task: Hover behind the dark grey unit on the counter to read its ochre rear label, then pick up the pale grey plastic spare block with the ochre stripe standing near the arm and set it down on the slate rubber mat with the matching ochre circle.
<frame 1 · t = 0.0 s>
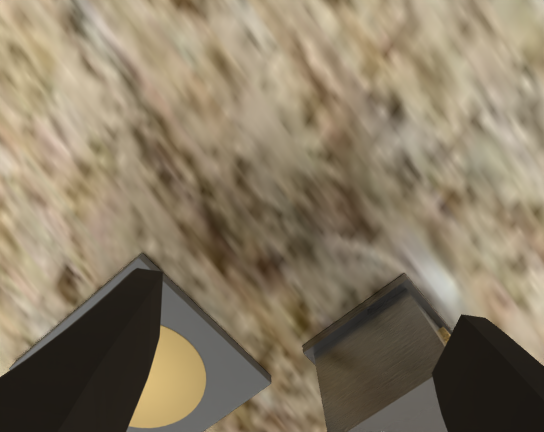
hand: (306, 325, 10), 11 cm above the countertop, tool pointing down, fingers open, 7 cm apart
unit: (408, 373, 23), on the countertop
mat: (144, 368, 23), on the countertop
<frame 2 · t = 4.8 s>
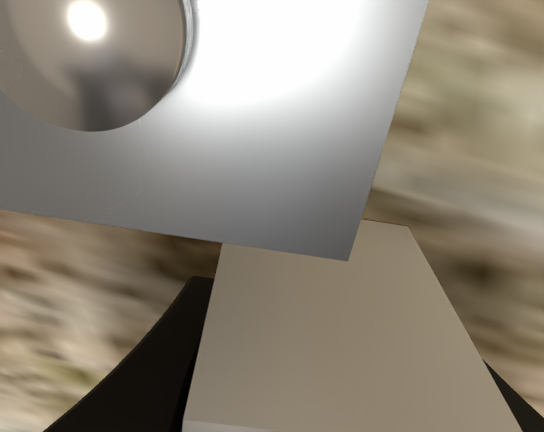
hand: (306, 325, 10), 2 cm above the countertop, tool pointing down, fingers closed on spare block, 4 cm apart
spare block: (303, 283, 11), on the countertop, touching gripper
when the fingers open (3 cm above the countertop, at t = 9.2 s): spare block stays where it is, resting on mat.
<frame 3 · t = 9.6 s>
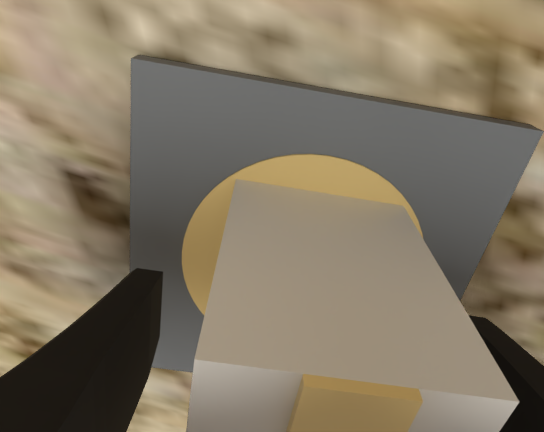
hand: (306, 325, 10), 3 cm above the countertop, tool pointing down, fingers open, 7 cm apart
spare block: (303, 262, 12), point 1 cm above the countertop, touching mat
mat: (300, 255, 13), on the countertop
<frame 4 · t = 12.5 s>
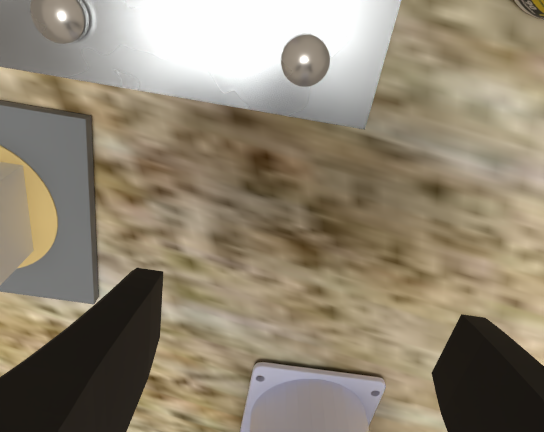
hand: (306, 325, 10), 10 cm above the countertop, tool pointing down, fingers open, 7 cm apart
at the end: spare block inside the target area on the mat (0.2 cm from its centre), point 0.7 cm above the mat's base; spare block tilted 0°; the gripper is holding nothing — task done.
